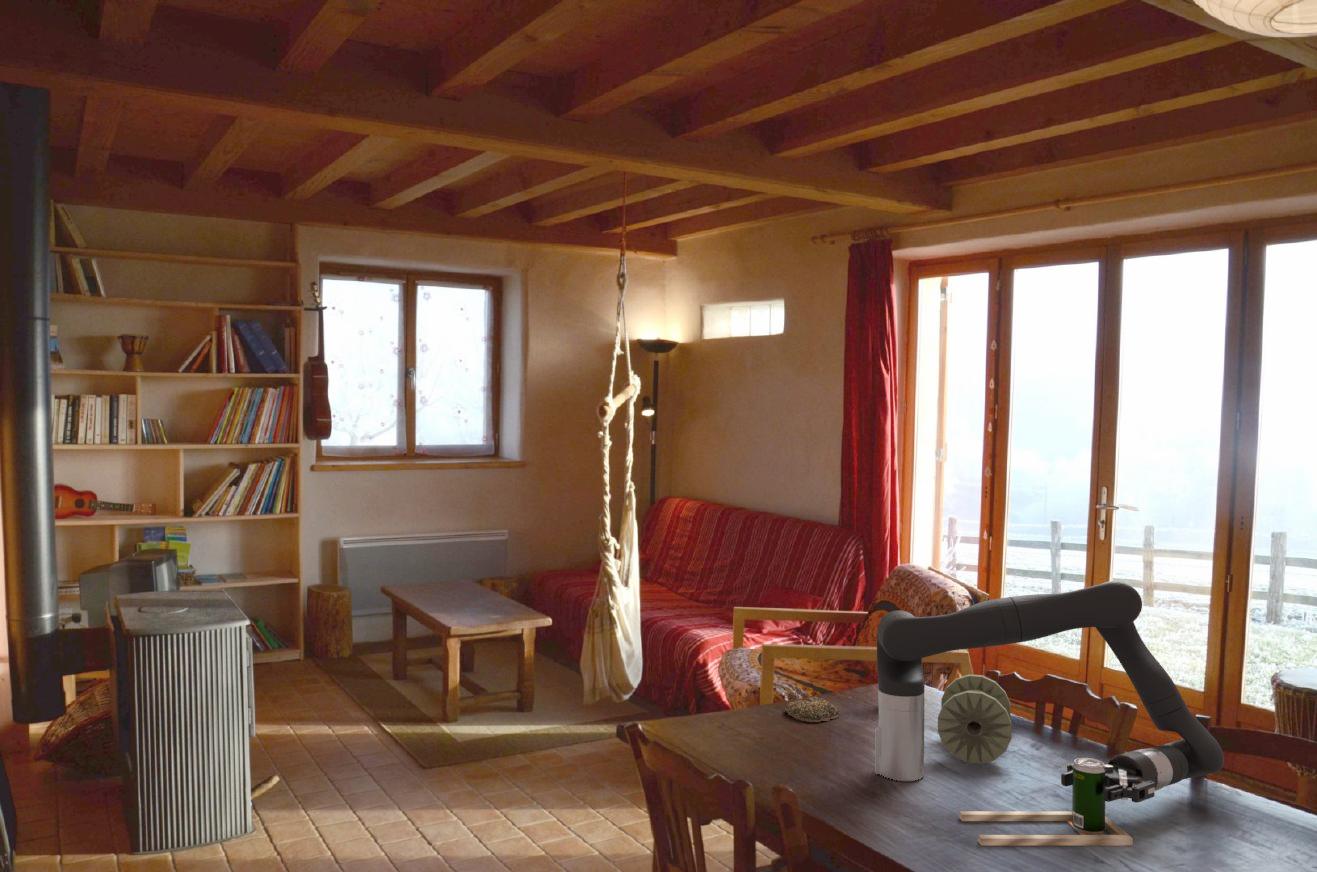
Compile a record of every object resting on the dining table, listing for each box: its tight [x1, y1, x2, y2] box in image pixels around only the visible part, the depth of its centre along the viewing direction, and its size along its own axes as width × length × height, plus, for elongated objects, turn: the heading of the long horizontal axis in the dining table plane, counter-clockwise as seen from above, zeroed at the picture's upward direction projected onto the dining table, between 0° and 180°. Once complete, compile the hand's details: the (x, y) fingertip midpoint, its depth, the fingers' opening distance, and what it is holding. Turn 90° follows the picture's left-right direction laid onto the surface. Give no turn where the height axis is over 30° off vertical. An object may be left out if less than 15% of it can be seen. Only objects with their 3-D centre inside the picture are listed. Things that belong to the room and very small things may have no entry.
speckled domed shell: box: [784, 695, 840, 720], centre depth 247 cm, size 13×12×5 cm
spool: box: [937, 674, 1013, 765], centre depth 220 cm, size 16×15×15 cm
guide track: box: [959, 810, 1134, 847], centre depth 176 cm, size 26×12×1 cm, turn 90°
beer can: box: [1071, 757, 1106, 835], centre depth 176 cm, size 5×5×12 cm
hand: (1083, 787), depth 175 cm, fingers open, 8 cm apart
